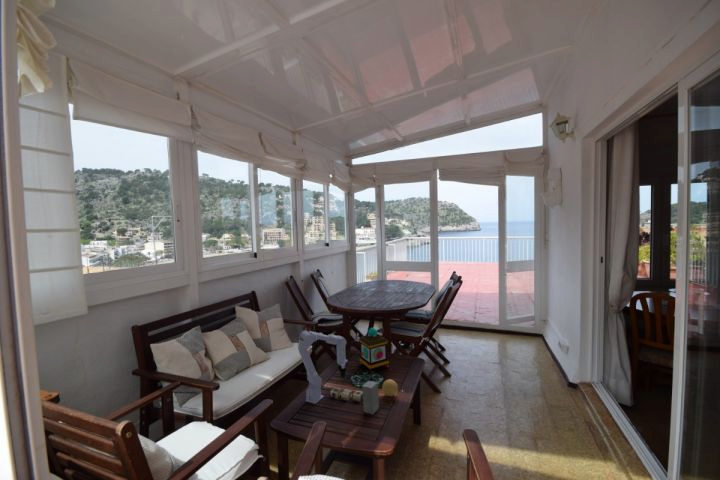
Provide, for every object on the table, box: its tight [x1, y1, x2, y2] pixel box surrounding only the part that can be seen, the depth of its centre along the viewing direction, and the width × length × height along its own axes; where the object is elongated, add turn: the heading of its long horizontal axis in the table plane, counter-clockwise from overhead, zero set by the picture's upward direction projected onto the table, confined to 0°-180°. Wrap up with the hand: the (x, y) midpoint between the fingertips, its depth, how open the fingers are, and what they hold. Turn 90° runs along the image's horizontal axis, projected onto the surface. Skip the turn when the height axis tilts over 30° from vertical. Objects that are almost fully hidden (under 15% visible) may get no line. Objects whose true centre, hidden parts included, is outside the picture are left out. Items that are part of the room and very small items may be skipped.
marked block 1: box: [330, 387, 342, 399], centre depth 204 cm, size 5×5×4 cm
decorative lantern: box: [358, 327, 390, 373], centre depth 242 cm, size 20×20×30 cm
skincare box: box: [361, 380, 380, 415], centre depth 187 cm, size 8×7×16 cm
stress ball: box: [381, 378, 399, 397], centre depth 201 cm, size 10×10×10 cm
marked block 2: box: [352, 390, 363, 402], centre depth 199 cm, size 5×5×4 cm
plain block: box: [340, 388, 353, 401], centre depth 201 cm, size 5×5×4 cm
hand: (342, 374), depth 212 cm, fingers open, 7 cm apart
